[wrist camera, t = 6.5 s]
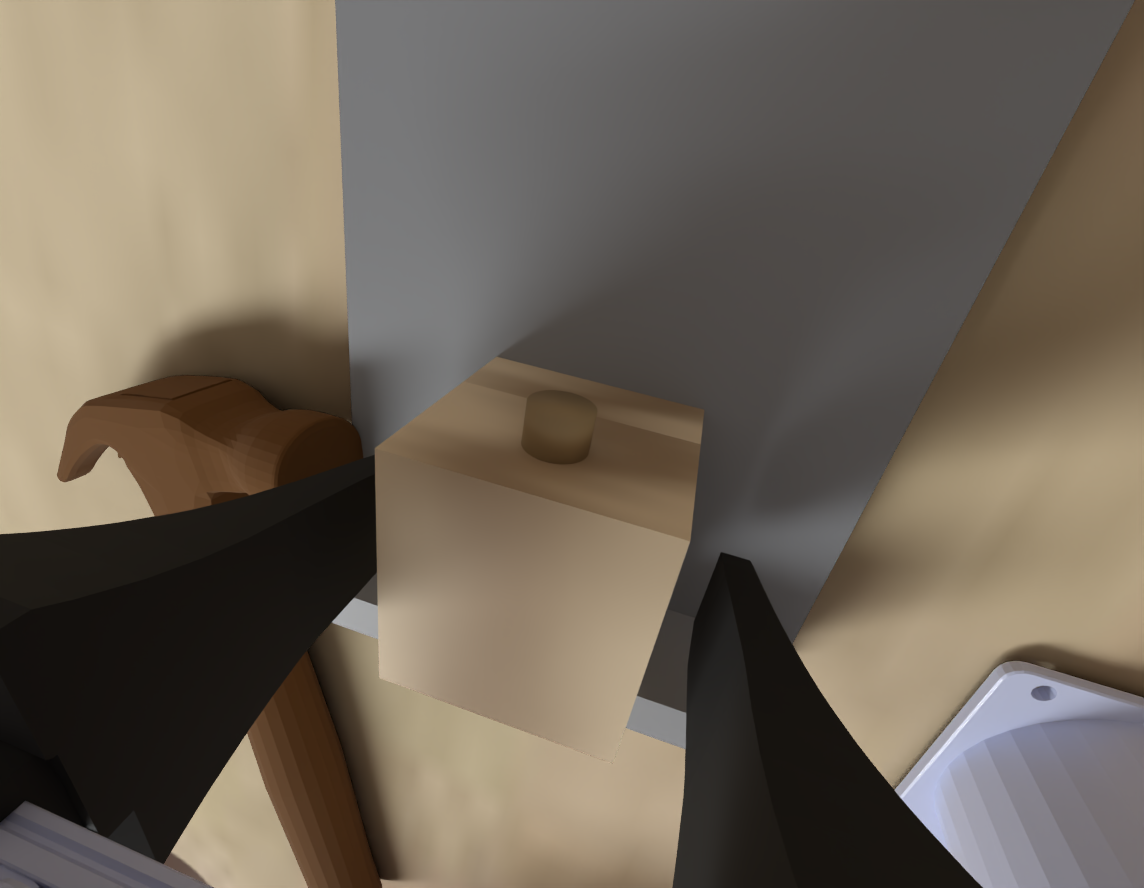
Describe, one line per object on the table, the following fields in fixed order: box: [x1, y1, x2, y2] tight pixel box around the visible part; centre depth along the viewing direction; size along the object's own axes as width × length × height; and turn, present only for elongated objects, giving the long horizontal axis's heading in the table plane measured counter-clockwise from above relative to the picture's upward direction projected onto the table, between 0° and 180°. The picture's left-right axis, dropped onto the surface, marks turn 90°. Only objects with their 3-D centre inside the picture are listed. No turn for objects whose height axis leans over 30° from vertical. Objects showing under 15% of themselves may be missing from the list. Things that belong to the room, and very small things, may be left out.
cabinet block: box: [375, 357, 704, 764], centre depth 11 cm, size 5×6×5 cm
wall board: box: [332, 0, 1135, 749], centre depth 11 cm, size 13×18×4 cm
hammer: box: [57, 375, 382, 888], centre depth 22 cm, size 12×3×30 cm
